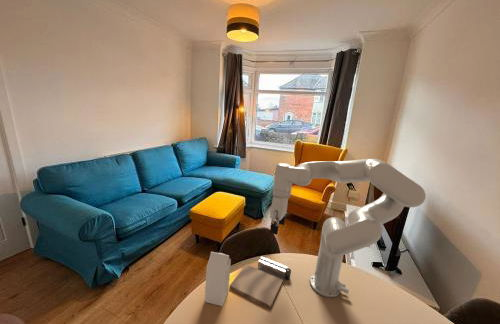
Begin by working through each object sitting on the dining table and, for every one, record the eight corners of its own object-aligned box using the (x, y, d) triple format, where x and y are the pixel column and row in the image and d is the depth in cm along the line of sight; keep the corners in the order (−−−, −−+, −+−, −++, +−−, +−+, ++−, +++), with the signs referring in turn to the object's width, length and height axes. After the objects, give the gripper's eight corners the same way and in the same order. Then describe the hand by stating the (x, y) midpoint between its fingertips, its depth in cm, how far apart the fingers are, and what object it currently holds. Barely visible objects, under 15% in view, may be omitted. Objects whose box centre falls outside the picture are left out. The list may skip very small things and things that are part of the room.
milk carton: (222, 306, 77) (226, 261, 73) (204, 302, 78) (207, 257, 74) (228, 291, 84) (231, 249, 80) (211, 287, 85) (214, 246, 81)
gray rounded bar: (291, 276, 95) (292, 268, 95) (288, 281, 92) (289, 274, 91) (261, 263, 102) (261, 256, 101) (257, 268, 98) (258, 261, 97)
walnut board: (282, 282, 91) (283, 279, 91) (270, 309, 78) (270, 305, 77) (246, 266, 99) (246, 264, 98) (229, 288, 85) (229, 285, 85)
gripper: (279, 185, 98) (275, 218, 102) (266, 195, 83) (262, 234, 86) (295, 188, 95) (290, 223, 99) (284, 200, 80) (279, 240, 83)
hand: (277, 228), depth 92 cm, fingers open, 9 cm apart
